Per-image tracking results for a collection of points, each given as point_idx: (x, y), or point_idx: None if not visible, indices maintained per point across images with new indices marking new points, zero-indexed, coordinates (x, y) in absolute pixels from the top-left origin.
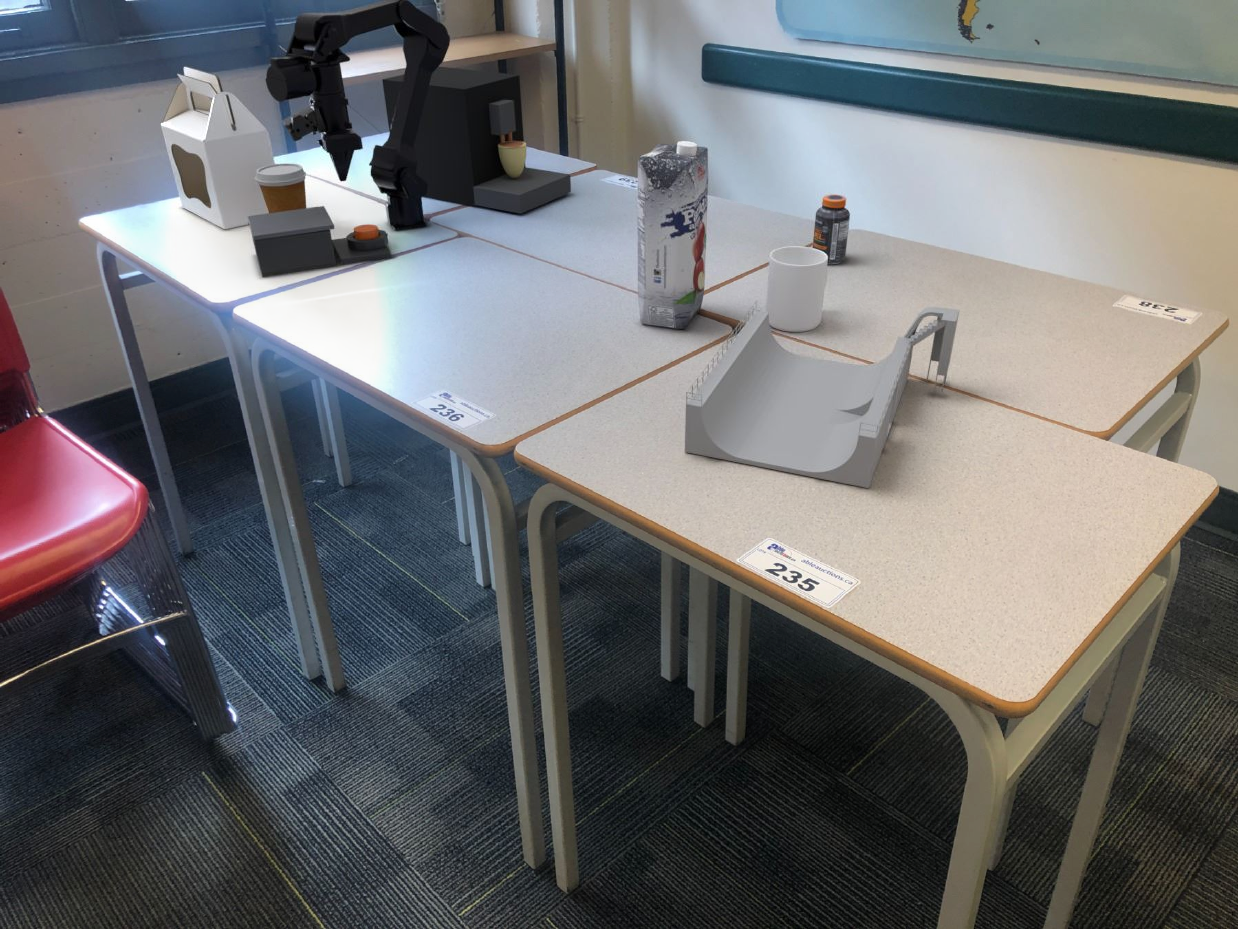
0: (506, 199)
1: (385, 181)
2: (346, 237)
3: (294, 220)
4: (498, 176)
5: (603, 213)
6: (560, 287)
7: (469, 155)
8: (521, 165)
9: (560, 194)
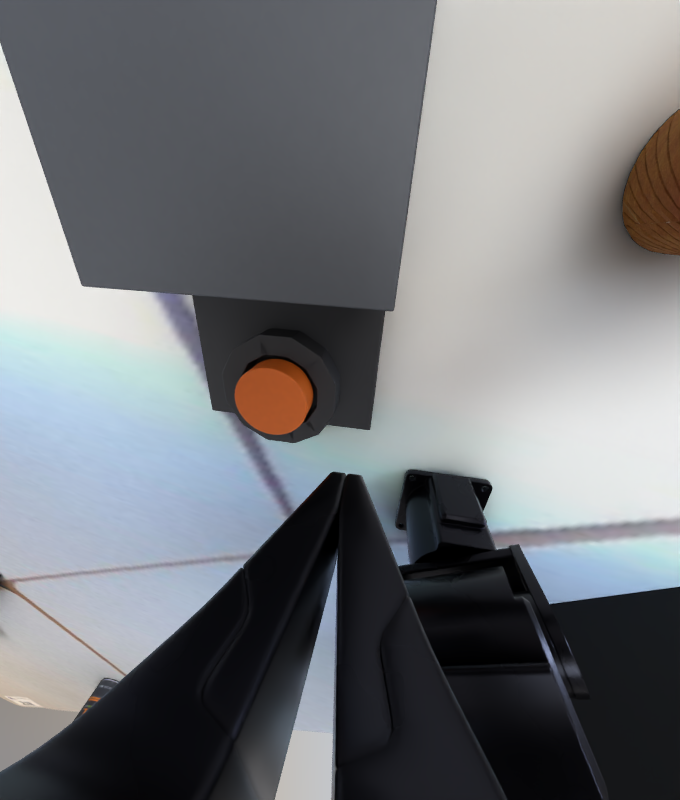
0: None
1: (425, 598)
2: (286, 336)
3: (184, 64)
4: None
5: (315, 675)
6: (51, 539)
7: None
8: None
9: None
